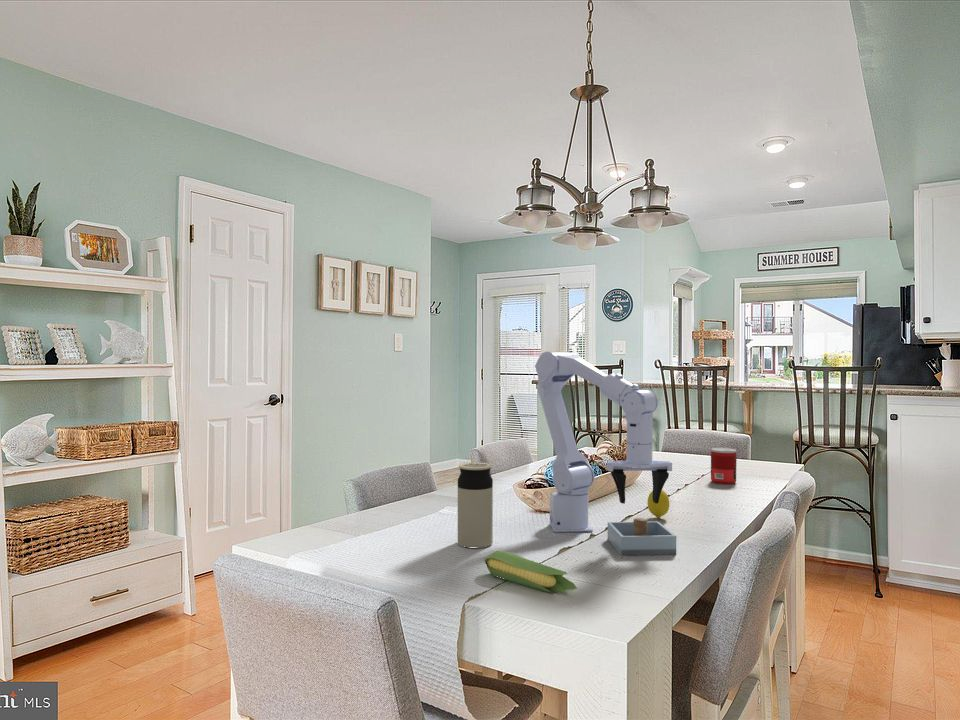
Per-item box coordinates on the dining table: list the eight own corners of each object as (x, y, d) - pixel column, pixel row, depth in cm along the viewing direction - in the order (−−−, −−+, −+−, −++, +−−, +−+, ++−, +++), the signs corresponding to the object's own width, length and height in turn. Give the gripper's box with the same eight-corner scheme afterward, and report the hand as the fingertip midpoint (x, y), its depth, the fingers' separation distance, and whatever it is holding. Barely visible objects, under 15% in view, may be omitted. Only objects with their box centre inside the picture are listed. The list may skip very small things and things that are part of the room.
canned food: (739, 484, 215) (740, 451, 214) (715, 484, 215) (715, 451, 215) (731, 480, 222) (731, 447, 222) (707, 479, 222) (707, 447, 222)
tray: (621, 555, 141) (621, 536, 141) (607, 539, 153) (607, 522, 153) (676, 554, 141) (676, 536, 141) (658, 538, 153) (658, 521, 153)
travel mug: (497, 547, 146) (497, 467, 146) (462, 550, 144) (462, 468, 144) (486, 537, 154) (486, 461, 154) (453, 540, 152) (453, 462, 151)
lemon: (670, 521, 168) (670, 490, 168) (647, 520, 169) (648, 489, 169) (668, 516, 174) (668, 486, 174) (646, 515, 175) (647, 485, 175)
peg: (634, 548, 146) (634, 521, 146) (632, 544, 149) (632, 517, 149) (648, 548, 146) (648, 521, 145) (646, 544, 149) (646, 518, 148)
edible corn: (497, 547, 133) (483, 546, 129) (581, 573, 119) (567, 572, 116) (491, 573, 132) (477, 572, 128) (575, 602, 118) (562, 602, 115)
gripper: (612, 445, 144) (611, 506, 145) (677, 445, 145) (676, 506, 145) (604, 440, 151) (604, 499, 152) (666, 440, 152) (666, 499, 152)
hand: (638, 502), depth 149 cm, fingers open, 7 cm apart
